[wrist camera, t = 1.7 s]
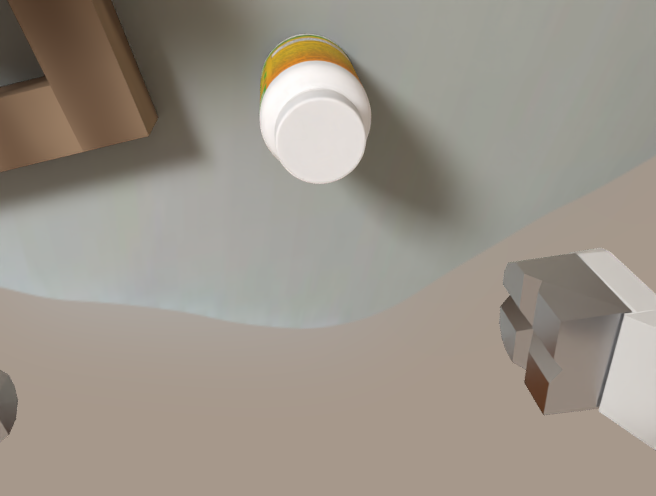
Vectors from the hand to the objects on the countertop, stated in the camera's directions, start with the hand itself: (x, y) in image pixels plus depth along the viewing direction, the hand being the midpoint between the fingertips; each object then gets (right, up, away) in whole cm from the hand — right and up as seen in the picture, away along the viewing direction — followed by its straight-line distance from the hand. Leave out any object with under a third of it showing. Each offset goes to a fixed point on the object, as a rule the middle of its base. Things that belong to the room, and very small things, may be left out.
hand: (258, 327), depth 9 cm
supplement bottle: (0, +11, +23) cm, 25 cm away
